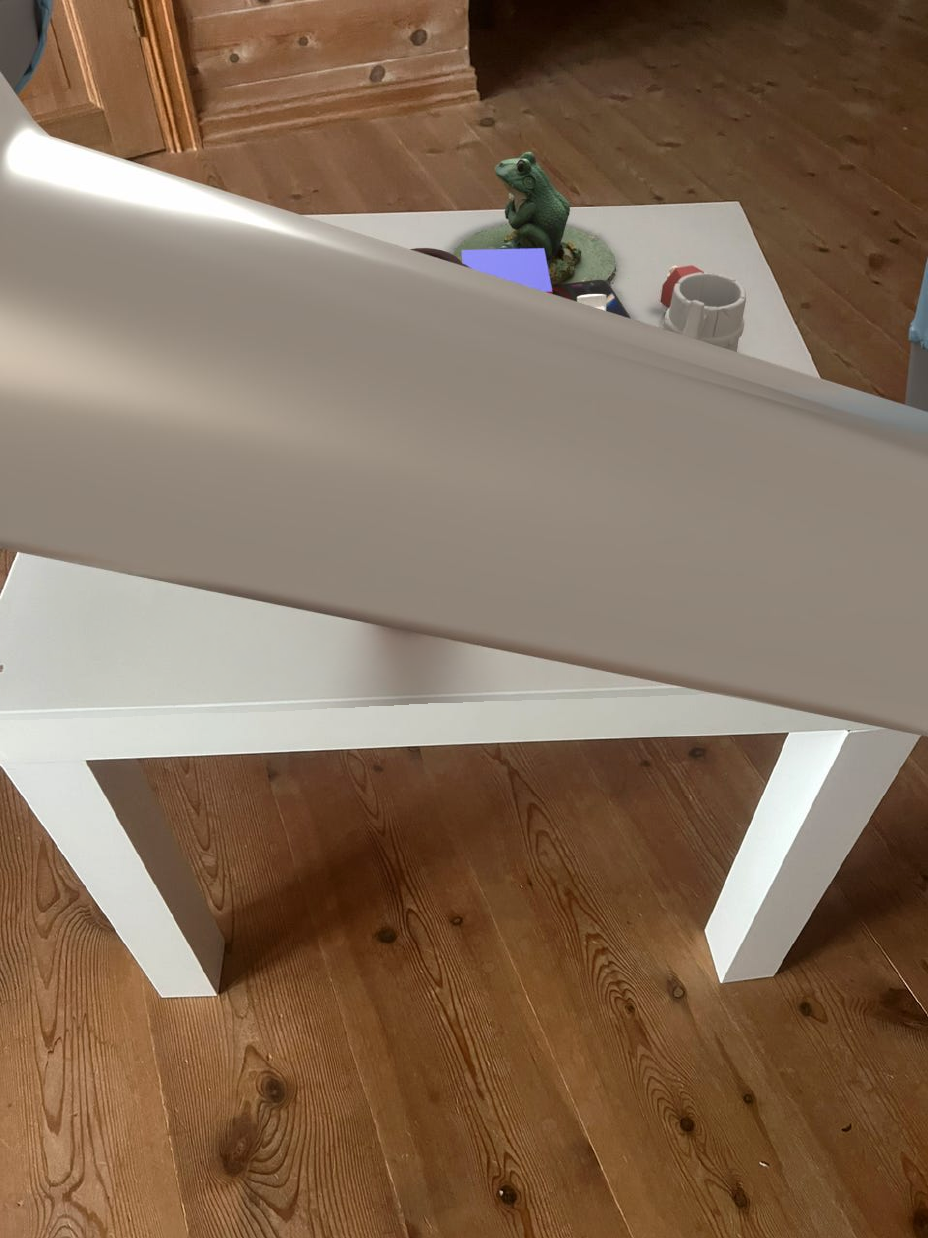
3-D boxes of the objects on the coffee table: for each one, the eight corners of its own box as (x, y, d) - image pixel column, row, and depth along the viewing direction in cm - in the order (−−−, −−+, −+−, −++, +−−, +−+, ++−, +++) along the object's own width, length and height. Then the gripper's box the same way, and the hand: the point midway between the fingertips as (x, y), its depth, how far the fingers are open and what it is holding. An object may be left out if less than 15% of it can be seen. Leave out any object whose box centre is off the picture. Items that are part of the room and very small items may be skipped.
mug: (740, 371, 97) (768, 255, 88) (711, 442, 90) (738, 323, 81) (663, 354, 99) (683, 238, 90) (629, 421, 92) (646, 303, 83)
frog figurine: (481, 214, 119) (482, 111, 111) (631, 236, 115) (643, 131, 107) (428, 286, 108) (424, 177, 99) (592, 314, 104) (603, 203, 95)
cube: (465, 368, 98) (465, 293, 92) (461, 323, 103) (461, 249, 97) (547, 366, 98) (552, 291, 92) (539, 321, 103) (544, 247, 97)
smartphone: (605, 277, 108) (654, 354, 98) (605, 283, 108) (653, 360, 98) (541, 285, 107) (583, 364, 97) (540, 291, 107) (583, 369, 97)
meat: (642, 288, 106) (661, 245, 103) (682, 295, 108) (702, 253, 105) (682, 351, 98) (704, 306, 95) (724, 358, 100) (747, 314, 97)
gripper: (637, 749, 45) (299, 599, 56) (861, 420, 56) (544, 350, 67) (622, 638, 39) (251, 497, 50) (873, 300, 51) (527, 245, 62)
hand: (418, 413), depth 59 cm, fingers open, 13 cm apart
